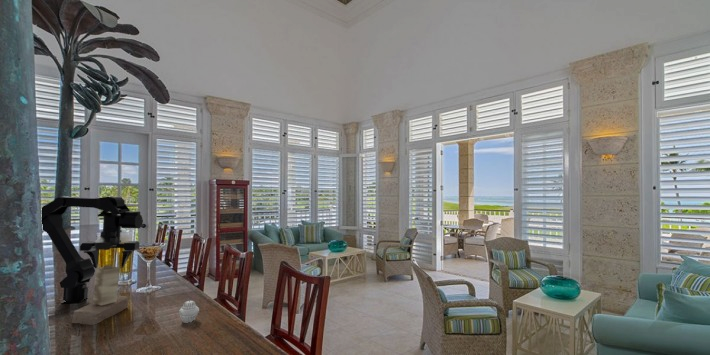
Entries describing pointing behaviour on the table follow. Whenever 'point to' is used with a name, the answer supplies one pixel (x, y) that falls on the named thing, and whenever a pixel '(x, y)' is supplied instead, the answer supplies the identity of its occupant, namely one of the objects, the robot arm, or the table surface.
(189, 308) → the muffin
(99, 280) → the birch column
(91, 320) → the brick
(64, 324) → the table surface
